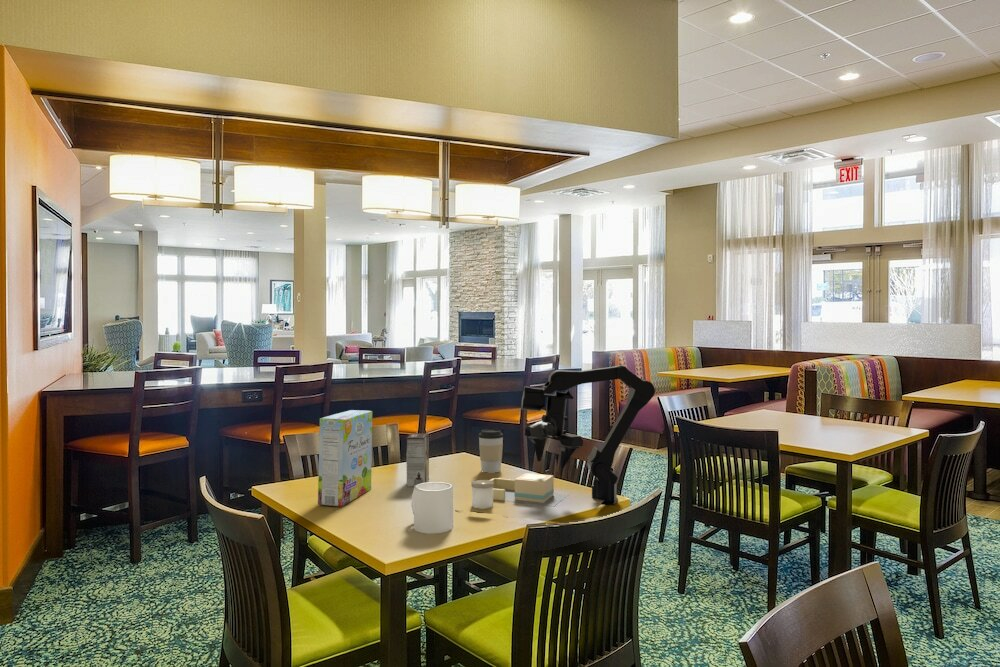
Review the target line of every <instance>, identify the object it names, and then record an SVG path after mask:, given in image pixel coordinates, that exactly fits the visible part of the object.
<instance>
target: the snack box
mask: <svg viewBox="0 0 1000 667" xmlns="http://www.w3.org/2000/svg"><path fill="white" fill-rule="evenodd" d="M318 436H319V439H318V441H319V442H318V447H319V448H318V477H317V478H318V484H317V486H318V487H317V505H319V506H329V507H337V508H338V507H339V508H340V507H344V506H345V505H347V504H349V503H350V502H353V501H354V500H355V499H357V498H359V497H360V496H362V495H364V494H366V493H368V492H370V490H372V472H373V471H372V465H373V464H372V463H373V462H372V460H373V458H372V457H373V454H372V452H373V410H366V409H365V410H364V409H363V410H359V409H357V410H356V409H355V410H354V409H349V410H347V411H346V410H345V411H342V412H339V413H338V412H337V413H334V414H331V415H327V416H324V417H320V418H319V434H318ZM367 491H368V492H367Z"/></svg>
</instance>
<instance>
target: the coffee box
mask: <svg viewBox="0 0 1000 667" xmlns="http://www.w3.org/2000/svg"><path fill="white" fill-rule="evenodd" d="M429 434H430V433H427V432H426V433H423V432H422V433H421V432H420V433H418V432H417V433H416V432H415V433H414V432H413V433H410V434H409V435H408V436H407V437H406V438H405V440H406V447H405V448H406V487H414V486H415V485H417V484H421V483H427V482H429V480H430V460H429V459H430V454H429V453H430V446H429V444H430V441H429Z"/></svg>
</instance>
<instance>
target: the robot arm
mask: <svg viewBox="0 0 1000 667" xmlns="http://www.w3.org/2000/svg"><path fill="white" fill-rule="evenodd" d="M613 380H620V381H621V382H622V383H623V384H624V385H625V386H626V387H628V388H629V391H628V394H627V397H626V403H625V405H624V407H623V408H622V411H620V413H619V415H618V417H617V419H616V421H615V423H614V424H613V426H612V428H611V429H610V431H609V432H608V435H607V436H606V438H605V440H604V442H603V443H602V444H601V445H600V446H599V447H598V448H597V447H596V446H593V447H592V450H591V452H590V454H588V456H587V457H586V458H587V459H588V460H587V461H586V462H587V463H586V465H587V468H588V471H589V472H590V473H591V475H592V476H593V477H594V478H596V479H594V480H593V484H592V485H591V498H592V499H596V500H600V501H602V502H601V504H603V505H615V504H616V503H617V501H618V500H619V498H618V497H617V493H618V492H617V489H618V487H617V486H618V485H617V481H618V475H616V474H615V472H613V470H612V467H613V464H614V459H615V454H616V452H617V450H618V448H619V446H620V444H621V443H622V441H623V439H624V438H625V436H626V434H627V433H628V431H629V429H630V427H631V426H632V424H633V422H634V421H635V419H636V417H637V415H638V414H639V412H640V411H641V410H642V409H643V408H644V407H646V405H648V403H649V402H650V401H651V400H652V399H653V397H654V396H655V393H656V389H655V385H654V384H653V382H651V381H649V380H645V379H643V378H640V377H639V376H637V375H636V374H634V372H632V371H630V370H629V369H628V368H627V367H626V366H624V365H621V364H618V365H615V366H608V367H600V368H592V369H585V370H570V369H569V370H567V369H566V370H565V369H556V370H552V371H551V373H550V374H549V376H548V380H547V381H546V382H545V384H543V385H542V387H540V388H536V387H531V386H524V387H523V393H522V396H521V397H522V398H521V407H520V408H521V410H526V411H534V412H535V411H537V412H541V410H542V409H544V408H545V407H546V409H545V414H542V416H541V420H540V421H537V422H535V423H534V424H531V425H527V426H526V427H525V429H524V436H526V438H527V440H529V441H530V442H531V443H532V446H533V448H534V451H535V456H536V460H537V461H536V462H539V463H540V462H541V461H542V459H543V454H544V451H545V447H546V443H547V439H551V440H555V441H559V443H560V444H561V445H558V446H559V448H560V450H561V452H560V462H559V464H560V469H564V468H565V466H566V465H567V464H568V462H569V460H570V458H571V457H572V455H573V454H574V452H575V451H576V450H577V449H579V448H580V447H583V446H584V438H583V437H582V435H577V434H574V433H573V434H572V433H571V434H570V433H569V434H567V430H564V429H565V421H568V418H569V417H568V416H566V409H567V408H566V407H567V399H569V400H574V396H573V395H572V394H571V391H570V390H569V389H571V388H574V387H576V386H579V385H582V384H589V383H590V384H591V383H597V382H604V381H605V382H606V381H613ZM563 391H564V392H563ZM546 399H547V401H546Z"/></svg>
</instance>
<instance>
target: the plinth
mask: <svg viewBox="0 0 1000 667" xmlns="http://www.w3.org/2000/svg"><path fill="white" fill-rule="evenodd" d="M489 481H493V482H494V486H493V501H501V502H511V503H519V504H526V505H527V504H528V505H537V506H545V507H553V508H554V507H555V506H556V505H558V504H559V503H560V502H562V501H564V499H566V498H567V497H568V496H569V494H566V493H565V494H563V493H557V492H554V495H553V496H552V497H551V498H549V499H548V500H547V501H545V502H544V503H541V502H532V501H523V500H515V496H514V492H515V479H509V478H502V477H500V478H498V477H493V478H491V479H489Z"/></svg>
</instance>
